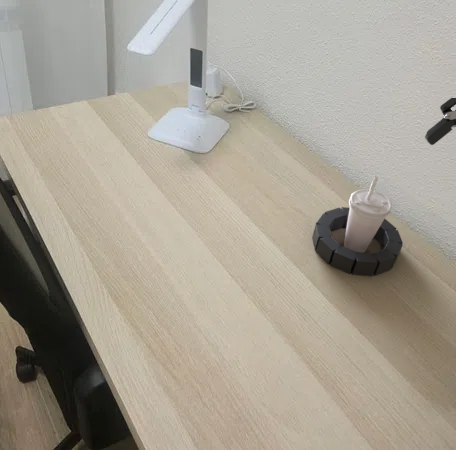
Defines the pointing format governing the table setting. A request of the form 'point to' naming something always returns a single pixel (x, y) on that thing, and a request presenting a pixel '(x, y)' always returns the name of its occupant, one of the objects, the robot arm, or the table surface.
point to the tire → (349, 258)
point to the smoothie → (365, 217)
